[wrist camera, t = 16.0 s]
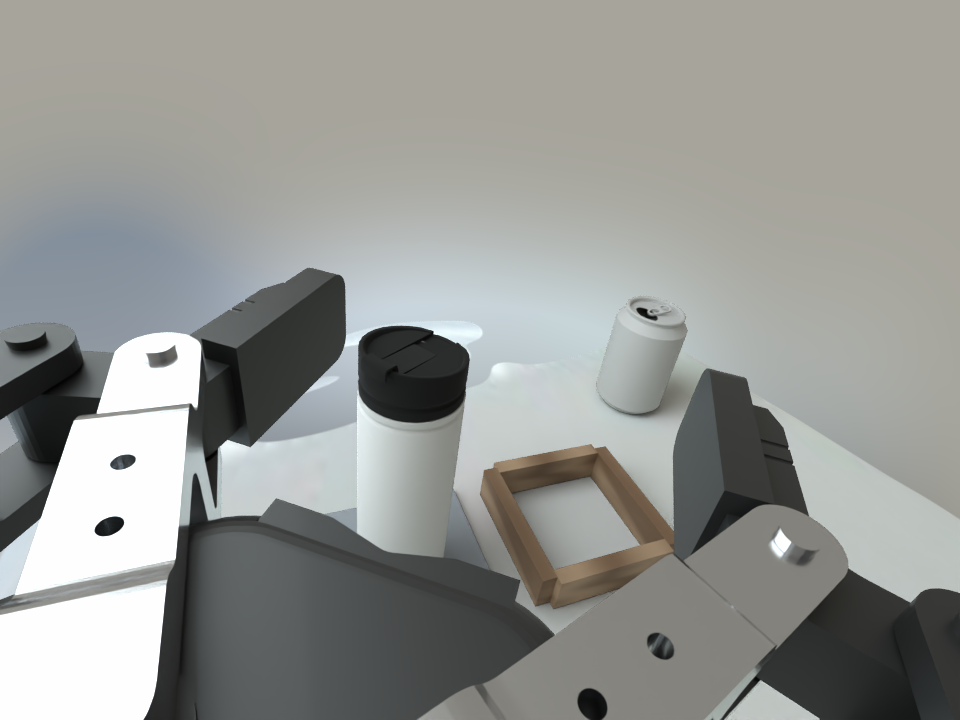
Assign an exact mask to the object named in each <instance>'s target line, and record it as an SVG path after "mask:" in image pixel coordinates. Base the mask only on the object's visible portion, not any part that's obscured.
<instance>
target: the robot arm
mask: <svg viewBox="0 0 960 720" xmlns="http://www.w3.org/2000/svg"><path fill="white" fill-rule="evenodd" d="M345 339H346V314H345V283H344V279H343V278H342V276H340V275H336V274H333V273H329V272H325V271H321V270H317V269H313V268H307V269H305V270H303V271H302V272H300V273H299V274H297V275H296V276H294V277H293V278H291V279H290V280H288V281H287V282H286V283H280V284H277V285H274V286H271V287H268V288H264V289H261V290H259V291H258V292H257V293H255V294H254V295H252V296H250V297H249V298H247V299H246V300H245V302H241V303H239V304H238V305H236V306H234V307H233V308H232V311H231V310H228V311H227V312H225V313H224V314H222V315H220V316H219V317H217V318H216V319H214V320H213V321H211V322H209V323H208V324H207V325H205V326H203V327H202V328H200V329H198V330H197V331H195V332H194V333H192V334H191V335H185V334H181V333H171V332H168V333H155V334H149V335H145V336H141V337H138V338H135V339H133V340H131V341H129V342H127V343H125V344H124V345H122V346H121V347H120V348H119V349H118V350H117V351H116V352H115V353H108V352H93V351H81V350H80V347H79V344H78V341H77V338H76V335H75V332H74V331H73V330H72V329H71V328H69V327H68V326H65V325H61V324H56V323H31V324H24V325H19V326H15V327H11V328H8V329H5V330H2V331H0V420H1V419H2V418H4V417H5V416H8V418H9V421H10V423H11V425H12V428H13V430H14V432H15V434H16V436H17V438H18V442H17V443H15V444H14V445H12V446H11V447H9V448H8V449H7V450H5V451H4V452H2V453H1V454H0V552H1V551H2V550H3V549H5V548H6V547H7V546H8V545H9V544H11V543H12V542H13V541H14V540H15V539H17V538H18V537H19V536H20V535H21V534H22V533H24V532H25V531H26V530H27V529H28V528H30V527H31V526H32V525H33V524H34V523H36V522H37V521H38V520H39V519H40V518H41V520H40V523H39V526H38V529H37V532H36V535H35V538H34V541H33V544H32V547H31V550H30V553H29V555H28V558H27V561H26V564H25V567H24V570H23V573H22V576H21V579H20V582H19V585H18V588H17V590H16V593H15V594H14V595H11V596H9V597H6V598H4V599H1V600H0V720H726V719H727V718H728V717H729V716H730V715H731V714H732V713H733V712H734V711H735V710H736V708H737V707H738V706H739V705H740V704H741V703H742V702H743V701H744V700H745V699H746V697H747V696H748V695H749V694H750V693H751V692H752V691H753V690H754V689H755V688H756V687H757V685H758V684H759V683H760V682H761V681H763V682H765V683H766V684H768V685H769V686H771V687H772V688H774V689H775V690H777V691H778V692H780V693H782V694H783V695H785V696H786V697H788V698H789V699H791V700H792V701H794V702H795V703H797V704H798V705H800V706H801V707H803V708H805V709H806V710H808V711H809V712H811V713H812V714H814V715H815V716H817V717H818V718H820V720H960V593H958V592H954V591H950V590H946V589H928V590H925V591H923V592H921V593H920V594H919V595H918V596H917V597H916V598H915V599H914V600H913V601H912V602H911V603H910V602H908V601H906V600H904V599H902V598H900V597H898V596H896V595H895V594H893V593H891V592H889V591H887V590H885V589H883V588H881V587H879V586H878V585H876V584H874V583H872V582H870V581H868V580H866V579H864V578H863V577H861V576H859V575H858V574H856V573H854V572H853V571H851V570H850V569H849V568H848V559H847V556H846V553H845V551H844V549H843V548H842V546H841V545H840V543H839V542H838V540H837V539H836V538H835V537H834V536H833V535H832V534H831V533H830V532H829V531H828V530H827V529H826V528H825V527H824V526H822V525H821V524H820V523H818V522H817V521H815V520H814V519H812V518H811V517H809V515H808V511H807V508H806V504H805V501H804V497H803V494H802V490H801V487H800V484H799V480H798V477H797V473H796V470H795V466H793V465H792V464H793V460H792V456H791V453H790V450H788V447H789V446H788V442H787V439H786V435H785V432H784V429H783V427H782V426H781V424H780V423H779V422H778V421H777V420H776V418H775V417H774V416H773V415H772V414H771V413H770V411H769V410H768V409H766V408H762V407H758V406H755V405H753V404H752V400H751V395H750V391H749V387H748V382H747V379H746V378H744V377H740V376H736V375H732V374H728V373H724V372H720V371H716V370H712V369H706V370H705V371H704V372H703V374H702V376H701V378H700V380H699V382H698V385H697V387H696V389H695V392H694V394H693V397H692V399H691V401H690V404H689V406H688V408H687V411H686V413H685V415H684V418H683V420H682V423H681V425H680V427H679V430H678V433H677V437H676V440H675V445H674V451H673V493H674V554H670V555H668V556H666V557H664V558H662V559H661V560H659V561H658V562H657V563H655V564H654V565H652V566H651V567H650V568H648V569H647V570H645V571H644V572H643V573H641V574H640V575H638V576H637V577H636V578H634V579H633V580H631V581H630V582H629V583H627V584H626V585H624V586H623V587H622V588H620V589H619V590H617V591H616V592H615V593H613V594H612V595H610V596H609V597H608V598H606V599H605V600H603V601H602V602H601V603H599V604H598V605H596V606H595V607H594V608H592V609H591V610H589V611H588V612H587V613H585V614H584V615H583V616H581V617H580V618H578V619H577V620H576V621H574V622H573V623H571V624H570V625H569V626H567V627H566V628H564V629H563V630H562V631H560V632H559V633H557V634H556V635H555V634H554V633H553V632H552V631H551V630H550V629H549V628H548V627H547V626H546V625H545V624H544V623H543V622H542V621H541V620H540V619H539V618H538V617H536V616H535V615H534V614H533V613H531V612H530V611H529V610H528V609H526V608H525V607H523V606H522V605H520V604H519V603H517V602H516V601H515V599H516V595H517V591H518V587H519V584H520V580H517V579H514V578H511V577H508V576H505V575H502V574H499V573H496V572H493V571H490V570H487V569H485V568H482V567H479V566H476V565H473V564H470V563H467V562H464V561H461V560H458V559H451V558H441V557H431V556H421V555H411V554H401V553H392V552H387V551H384V550H382V549H380V548H379V547H377V546H376V545H374V544H373V543H371V542H370V541H368V540H367V539H365V538H363V537H362V536H360V535H359V534H357V533H356V532H354V531H353V530H351V529H350V528H348V527H347V526H345V525H344V524H342V523H340V522H339V521H337V520H336V519H334V518H333V517H330V516H327V515H324V514H321V513H318V512H315V511H312V510H309V509H306V508H303V507H300V506H297V505H294V504H291V503H288V502H285V501H282V500H280V499H277V498H276V499H275V501H274V502H273V503H272V504H271V505H270V507H269V508H268V509H267V510H266V511H265V513H264V514H263V515H262V516H234V517H224V518H221V471H222V457H221V451H220V446H221V445H222V444H223V443H224V442H225V441H226V440H230V441H233V442H236V443H239V444H243V445H246V446H249V447H251V446H252V445H253V444H254V443H255V442H256V441H257V440H258V439H259V438H260V437H261V436H262V435H263V434H264V433H265V432H266V431H267V430H268V429H269V428H270V427H271V426H272V425H273V424H274V423H275V422H276V421H277V420H278V419H279V418H280V417H281V416H282V415H283V414H284V413H285V412H286V411H287V410H288V409H289V408H290V407H291V406H292V405H293V404H294V403H295V402H296V401H297V400H298V399H299V398H300V397H301V396H302V395H303V394H304V393H305V392H306V391H307V390H308V389H309V388H310V387H311V386H312V385H313V384H314V383H315V382H316V381H317V380H318V379H319V378H320V377H321V376H322V375H323V374H324V373H325V372H326V371H327V370H328V369H329V368H330V367H331V366H332V365H333V364H334V363H335V362H336V361H337V360H338V358H339V357H340V355H341V353H342V351H343V348H344V344H345Z"/></svg>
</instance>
